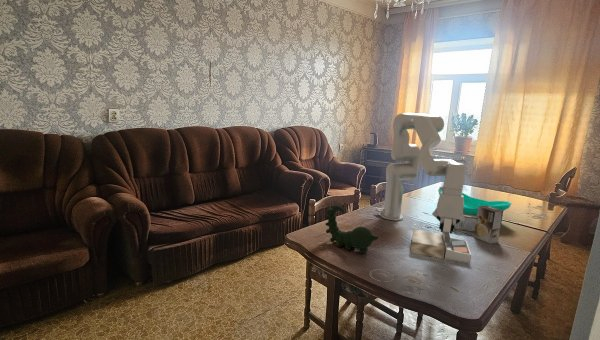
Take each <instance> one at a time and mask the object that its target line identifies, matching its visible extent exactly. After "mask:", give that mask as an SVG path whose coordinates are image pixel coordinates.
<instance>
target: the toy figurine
mask: <svg viewBox="0 0 600 340" xmlns="http://www.w3.org/2000/svg"><path fill="white" fill-rule="evenodd" d="M338 211H341V212H343V213H344V212H345V210H344V208H343V207H342V206H341V205H334V206H332V207H331V208H328V210H326V211H325V214H327V216H325V219H326V220H327V222H326V223H325V224H324V225H325V226H326V227H328V228H327V229H326V230H325V233H327V234H331V237H330V239H329V241H330V242H331V243H334V242H335V241H336V246H337V248H341V247H343V246H344V248H345V250H347V251H348V250H351V249H352V248H355V249H358V252H359V253H360V254H361V255H365V254H366V253H367V252H368V251H369V247H370V246H371V245H372V243H373V241H377V240H378V239H379V237H378V236H376V235H374V234H373V233H372V232H371V230H370V229H368V228H367V227H365V226H357V227H355V228H353V229H352V230H348V231H344V230H340V228H339V226H338V221H337V220H336V219H337V216H336V212H338Z"/></svg>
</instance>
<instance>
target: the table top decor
mask: <svg viewBox="0 0 600 340" xmlns="http://www.w3.org/2000/svg"><path fill="white" fill-rule="evenodd" d="M437 192H438V196H440V193H441V192H442V191H441V190H439V188H438V190H437ZM462 195H463V196H464V208H463V214H465V215H471V216H477V213H478V207H479V206H486V205H487V206H490V207H493V208H496V209H499V210H502V211H503V212H504V211H506V210H508V209H509V208H510V207H511V205H512V202H510V201H506V200H491V201H490V200H484V199H480V198H476V197H472V196H470V195H467V194H466V193H464V192H462Z"/></svg>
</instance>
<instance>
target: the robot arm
mask: <svg viewBox="0 0 600 340" xmlns="http://www.w3.org/2000/svg"><path fill="white" fill-rule="evenodd" d="M392 121H393V122H392V130H393V138H392V146H391V152H390V153H391V154H390V155H391V156H390V157H391V159H392V160H393V161H397V162H393V163H392V162H391V163H389V164H388V165H386V168H385V176H386V177H385V178H386V185H385V193H384V203H383V207H381V208H380V207H375V211H376V212H378V213H380V214H379V215H380V217H381V218H383V219H385V220H388V221H394V222H395V221H402V220H403V219H404V216H403V215H402V214H401V212H402V204H403V195H404V186H403V184H402V182H401V181H405V180H406V181H411V180H415V179H416V177H418V173H419V168H420V165H421V168H422V170H423V171H424V173H425V174H426V175H427V176H431V177H443V178H444V181H443V186H439V187H438V189H439V190H441V191H442V192H441V193H440V195H438V200H437V204H436V208H435V209H434V210H433V211H432V213H431V215H432V216H433V217H435V218H436V220H437V221H439V226H438V229H439V230H440V233H442V232H443V227H444V222H443V220H444V217H446V218H452V224H451V229H450V233H449V235H450V234H453V232H454V231H455V228H454V226H455V225H456V224H457V223H459V222H460V221H464V220H465V217H464V215H463V208H464V196H463V195H462V193H463V190H464V183H465V177H466V171H467V165H466V164H465V163H462V162H458V161H455V160H453V159H450V158H433V157H432V154H431V151H430V150H431V149H433V148H435V147H436V146H439V144H440V142H441V140H442V139H441V135H440V134H439V133H440V132H442V131H443V130H444V127H445V121H444V119H443V117H441V116H440V115H436V114H429V113H428V114H427V113H417V112H416V113H414V112H402V113H401V112H400V113H398V114H397V115H396V116H395V117H394V118H393V120H392ZM408 130H415V133H417V135H418V139H419V140H420V143H421V147H419V145H417V144H414V143H410V137H411V135H410V133H409V131H408Z"/></svg>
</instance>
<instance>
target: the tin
mask: <svg viewBox="0 0 600 340" xmlns="http://www.w3.org/2000/svg"><path fill="white" fill-rule="evenodd" d="M463 215H464V217H465V220H464V221H460V222H459V223H457V224H456V225H455V226H454V230H458V231H464V232H471V233H474V232H475V225H476V219H477V216H471V215H465V214H463Z"/></svg>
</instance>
